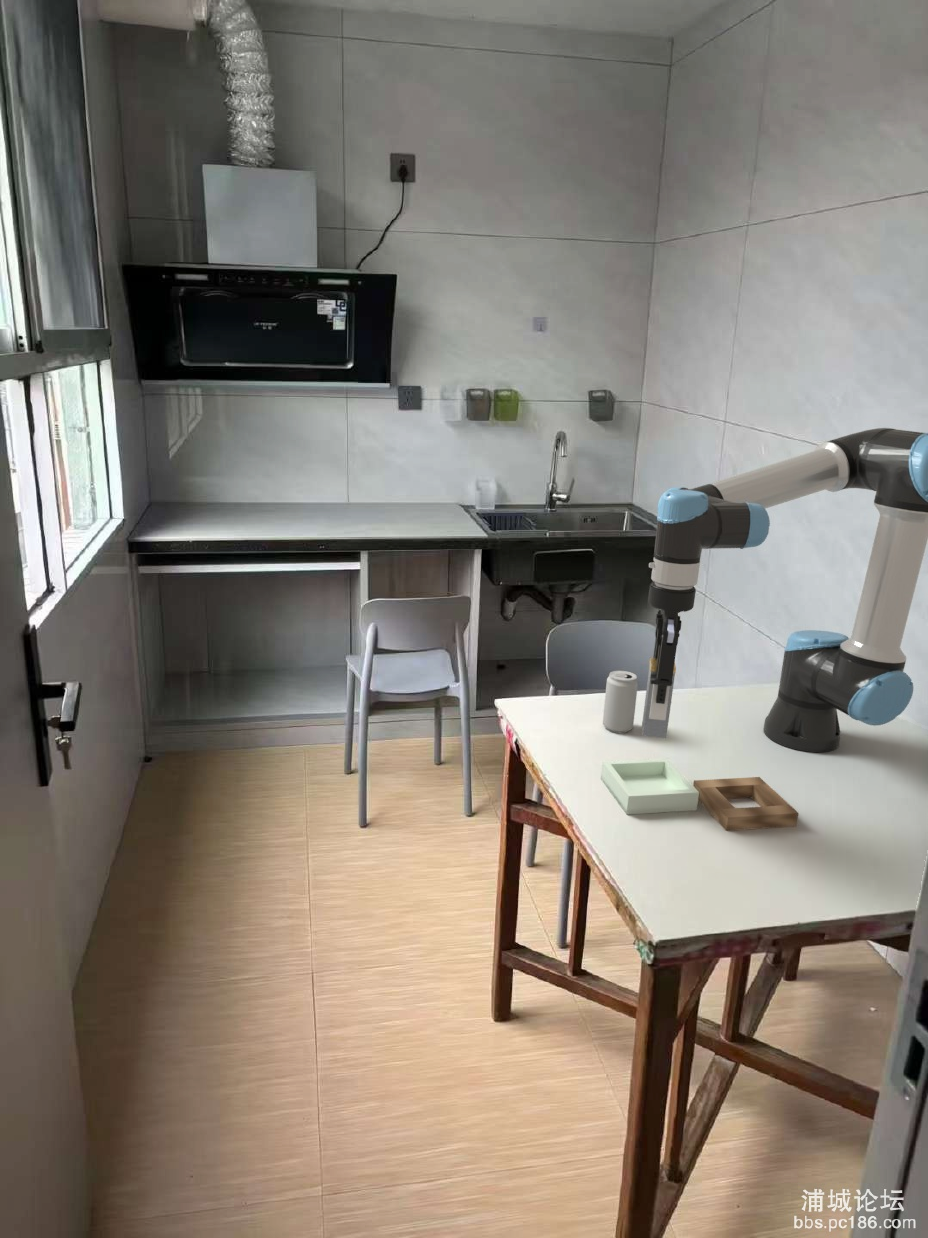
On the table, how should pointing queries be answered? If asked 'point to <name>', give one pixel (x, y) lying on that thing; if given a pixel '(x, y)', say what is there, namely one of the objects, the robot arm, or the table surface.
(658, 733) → the strut
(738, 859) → the table surface
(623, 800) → the bin
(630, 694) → the beverage can
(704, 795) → the socket block
